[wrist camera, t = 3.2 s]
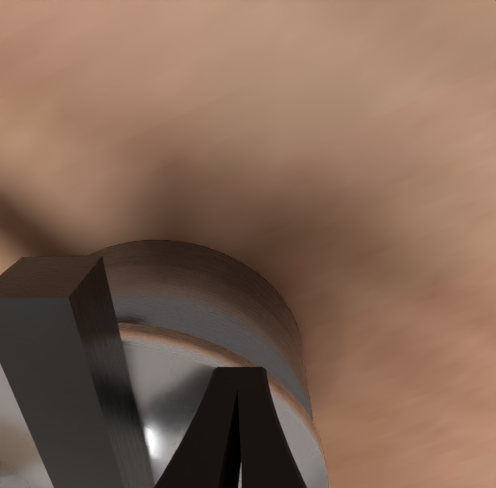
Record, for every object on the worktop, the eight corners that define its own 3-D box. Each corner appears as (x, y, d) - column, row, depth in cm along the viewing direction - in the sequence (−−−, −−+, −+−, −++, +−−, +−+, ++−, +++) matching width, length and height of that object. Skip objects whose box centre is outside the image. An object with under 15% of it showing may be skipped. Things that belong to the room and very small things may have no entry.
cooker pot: (354, 367, 20) (389, 479, 15) (176, 471, 24) (153, 586, 19) (66, 82, 14) (-52, 94, 9) (-101, 286, 18) (-250, 379, 13)
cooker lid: (314, 566, 17) (324, 652, 15) (14, 563, 18) (-25, 645, 15) (346, 234, 10) (377, 293, 7) (-176, 243, 10) (-316, 302, 8)
